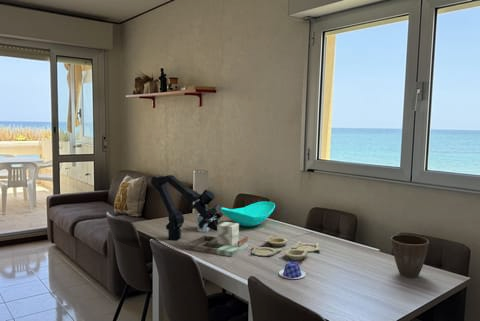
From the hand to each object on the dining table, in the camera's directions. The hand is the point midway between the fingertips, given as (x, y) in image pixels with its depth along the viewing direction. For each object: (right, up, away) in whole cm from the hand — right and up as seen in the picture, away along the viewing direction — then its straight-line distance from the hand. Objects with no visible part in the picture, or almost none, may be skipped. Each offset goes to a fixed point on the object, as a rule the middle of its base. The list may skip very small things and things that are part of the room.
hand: (220, 231), depth 208 cm
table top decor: (+16, -4, +44) cm, 47 cm away
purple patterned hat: (+34, -12, -41) cm, 54 cm away
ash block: (+4, -5, -2) cm, 7 cm away
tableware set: (+35, -9, -8) cm, 37 cm away
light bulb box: (-12, -5, +34) cm, 36 cm away
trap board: (-2, -8, -3) cm, 9 cm away
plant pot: (+84, -11, -42) cm, 95 cm away
